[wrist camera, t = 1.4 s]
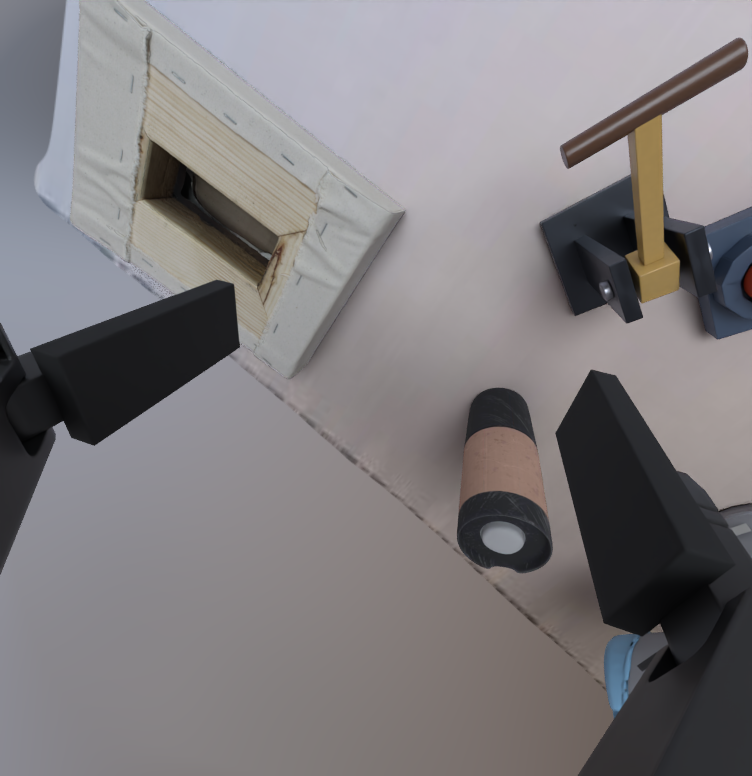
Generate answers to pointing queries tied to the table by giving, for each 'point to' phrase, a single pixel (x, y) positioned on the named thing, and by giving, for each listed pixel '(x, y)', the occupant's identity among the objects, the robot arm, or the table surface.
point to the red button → (748, 282)
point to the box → (215, 183)
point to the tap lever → (653, 161)
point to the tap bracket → (618, 251)
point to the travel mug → (502, 487)
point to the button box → (729, 276)
